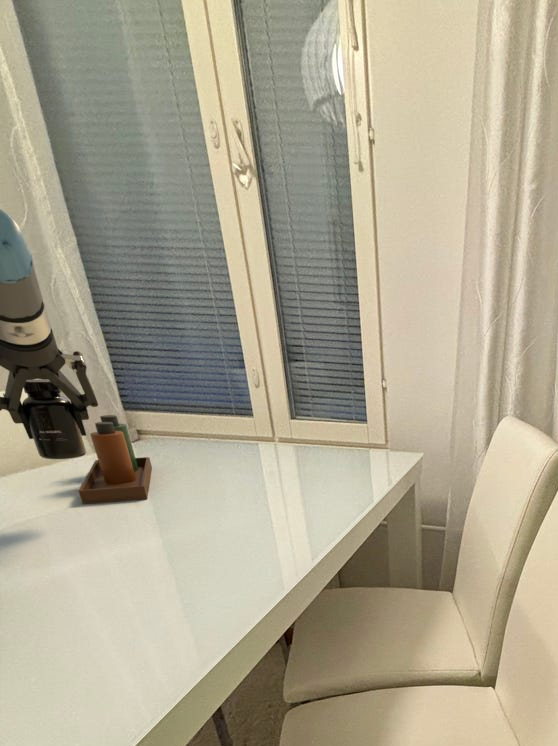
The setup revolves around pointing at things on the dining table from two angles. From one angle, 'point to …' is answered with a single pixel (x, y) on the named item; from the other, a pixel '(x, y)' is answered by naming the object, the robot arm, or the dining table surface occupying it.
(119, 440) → the row bottles
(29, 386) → the supplement bottle
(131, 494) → the tray
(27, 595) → the dining table surface
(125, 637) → the dining table surface
